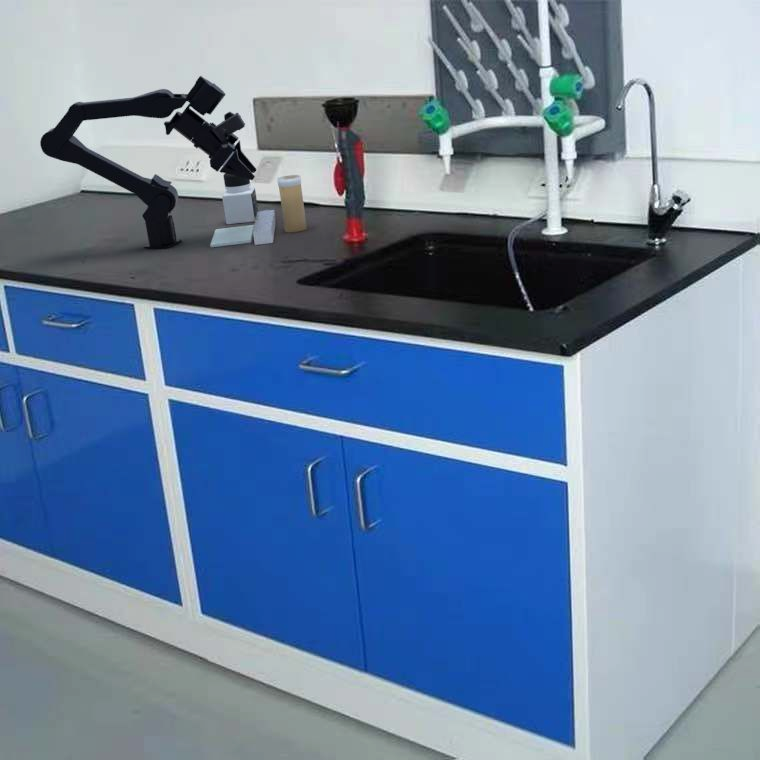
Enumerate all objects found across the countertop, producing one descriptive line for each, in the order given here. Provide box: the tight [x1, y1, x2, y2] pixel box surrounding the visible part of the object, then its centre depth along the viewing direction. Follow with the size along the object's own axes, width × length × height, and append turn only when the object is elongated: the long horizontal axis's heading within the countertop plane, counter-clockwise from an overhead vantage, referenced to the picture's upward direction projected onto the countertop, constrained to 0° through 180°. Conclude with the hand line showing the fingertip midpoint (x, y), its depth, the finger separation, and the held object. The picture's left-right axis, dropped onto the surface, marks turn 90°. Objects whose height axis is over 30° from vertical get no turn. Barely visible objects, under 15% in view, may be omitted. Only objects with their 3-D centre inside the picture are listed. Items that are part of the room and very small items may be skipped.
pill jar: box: [277, 174, 308, 233], centre depth 287 cm, size 5×5×12 cm
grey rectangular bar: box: [252, 208, 277, 246], centre depth 290 cm, size 25×4×3 cm, turn 3°
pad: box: [209, 224, 254, 248], centre depth 289 cm, size 9×16×1 cm, turn 3°
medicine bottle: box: [221, 173, 259, 225], centre depth 304 cm, size 7×7×12 cm
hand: (254, 174), depth 285 cm, fingers open, 9 cm apart
